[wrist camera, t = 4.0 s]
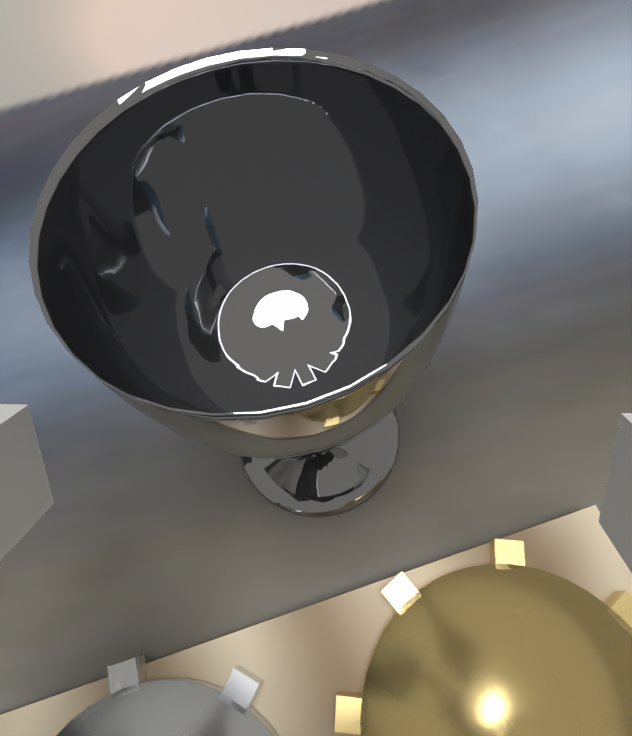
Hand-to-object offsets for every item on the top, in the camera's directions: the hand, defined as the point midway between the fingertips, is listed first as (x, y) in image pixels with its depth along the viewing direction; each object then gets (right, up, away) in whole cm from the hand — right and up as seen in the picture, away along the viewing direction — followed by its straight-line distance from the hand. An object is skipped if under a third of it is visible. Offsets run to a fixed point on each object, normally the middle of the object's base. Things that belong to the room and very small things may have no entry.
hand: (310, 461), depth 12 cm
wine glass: (0, -1, +11) cm, 11 cm away
